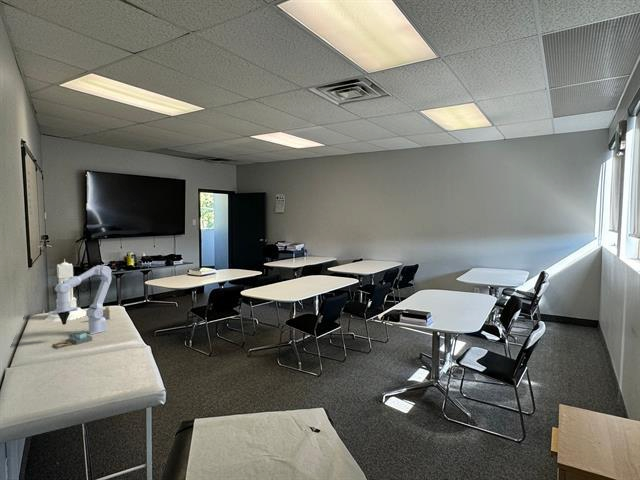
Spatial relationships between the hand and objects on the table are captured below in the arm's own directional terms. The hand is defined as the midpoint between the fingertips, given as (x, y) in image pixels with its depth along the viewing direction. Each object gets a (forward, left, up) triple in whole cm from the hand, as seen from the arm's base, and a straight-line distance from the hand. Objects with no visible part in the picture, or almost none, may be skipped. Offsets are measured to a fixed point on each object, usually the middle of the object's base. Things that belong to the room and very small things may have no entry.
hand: (64, 324), depth 222 cm
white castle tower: (-20, -59, -10) cm, 63 cm away
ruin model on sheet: (-31, -28, -11) cm, 43 cm away
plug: (-6, +10, -10) cm, 15 cm away
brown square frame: (+4, +10, -10) cm, 15 cm away
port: (-6, +8, -10) cm, 14 cm away
